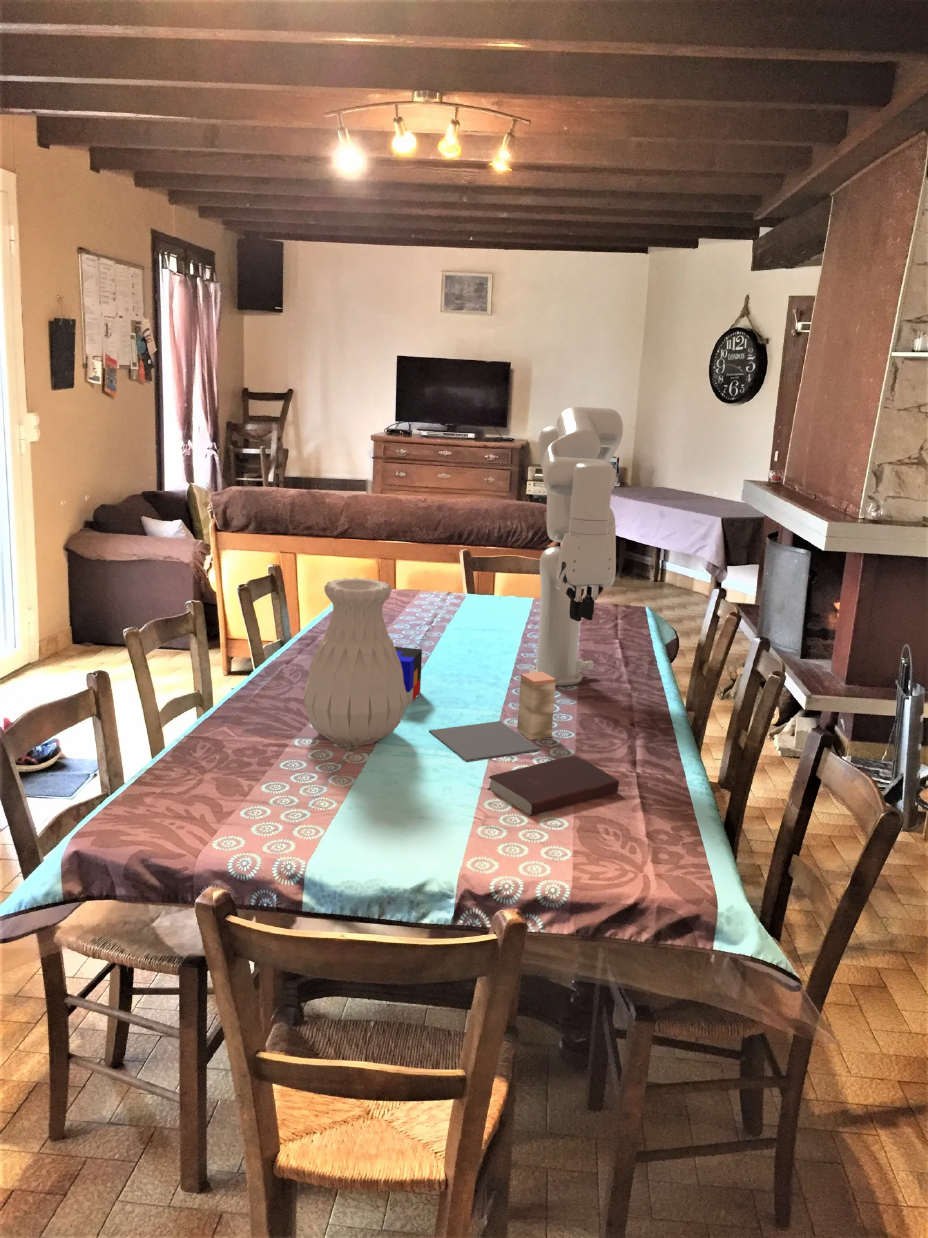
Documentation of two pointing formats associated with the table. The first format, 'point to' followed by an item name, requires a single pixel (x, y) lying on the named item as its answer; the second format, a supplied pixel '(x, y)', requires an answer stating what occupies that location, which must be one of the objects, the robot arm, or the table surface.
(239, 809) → the table surface
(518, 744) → the mat
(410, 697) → the puzzle toy
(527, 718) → the tall block
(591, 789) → the book
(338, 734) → the vase
